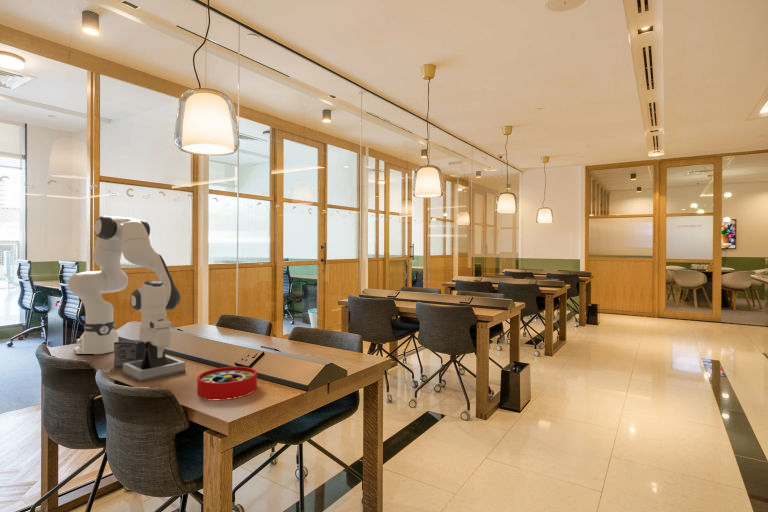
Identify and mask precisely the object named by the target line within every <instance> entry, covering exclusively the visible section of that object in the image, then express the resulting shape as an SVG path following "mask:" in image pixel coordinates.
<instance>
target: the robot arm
mask: <svg viewBox="0 0 768 512" xmlns="http://www.w3.org/2000/svg"><path fill="white" fill-rule="evenodd" d="M93 228H94V229H93V230H94V233H95V235H96V236H97V238H96V241H95V244H94V245H95V246H94V249H93V252H92V260H93V262H94V263H95V264H96V265H97V266H100V270H93V271H91V270H88V271H82V272H77V273H73V274H71V276H70V277H69V278H68V280H67V287H68V290H69V291H70V292H71V293H72V294H73V295H75V296H77V297H78V299H80V300H81V302H82V304H83V306H84V313H85V323H84V325H83V330H84V331H83V333H82V334H81V336H80V337H79V338H77V339H76V344H77V345H78V346H74V349H75V350H74V352H75V351H76V352H75V354H76V353H77V354H94V355H103V354H108V353H113V352H114V342H118V341H119V332H118V331H117V330H115V328H116V327H115V324H116V323H115V320H114V306H113V304H112V303H111V302H110V301H107V300H104V298H103V295H102V294H109V293H117V292H120V291H123V290H126V288H127V287H128V285H129V276H128V274H127V273H126V272H125V271H123V270H122V267H121V259H122V256H123V257H124V259H125V260H126V261H127V262H129V263H131V264H133V265H135V266H139V267H143V268H145V269H149V270H151V271H153V272H154V273H155V274H156V276H157V279H158V280H146V281H144V282H143V284H142V286H141V287H140V288H136V289H135V290H134V291H132V292H131V294H130V307H131V308H133V309H134V310H135V311H139V312H141V324H140V328H139V340H140V341H142V342H148V341H149V342H151V345H154V346H156V347H157V349H158V351H157V353H156V357H158V358H160V357H162V356H163V351H164V352H165V348H168V347H169V346H170V345H171V335H172V334H171V327H172V324H173V323H172V321H171V320H170V319H169V318H168V316H167V310H173V309H175V308H176V307H178V306H179V304H180V302H181V294H180V291H179V289H178V288H177V286H176V284H175V283H174V280H173V278H172V276H171V273H170V271H169V269H168V266H167V263H166V262H165V259H164V258H163V257H162V255H161V254H159V253H157V252H156V250H155V249H154V248H153V246H152V245H151V241H150V234H151V227H150V224H149V222H148V221H146V220H143V219H137V218H133V217H129V216H128V217H127V216H110V215H102V216H99V217H97V218H96V220H95V223H94V227H93Z"/></svg>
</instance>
